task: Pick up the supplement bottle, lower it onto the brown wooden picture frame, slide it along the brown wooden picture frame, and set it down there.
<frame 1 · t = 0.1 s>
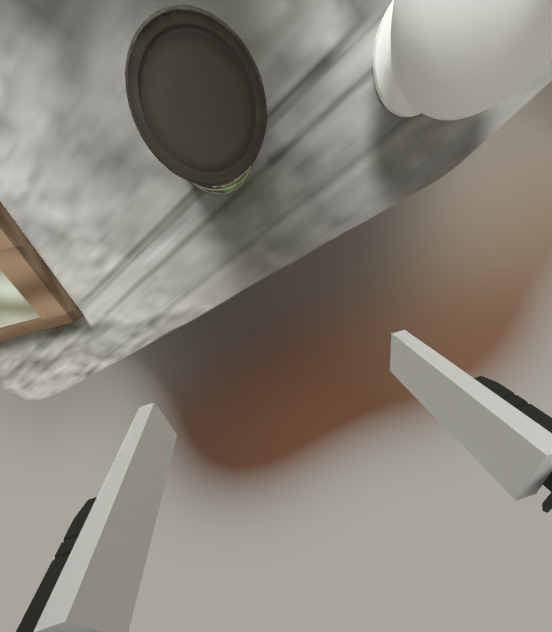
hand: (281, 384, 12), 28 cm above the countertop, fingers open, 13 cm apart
coffee can: (214, 151, 29), on the countertop
decorative vase: (415, 56, 28), on the countertop
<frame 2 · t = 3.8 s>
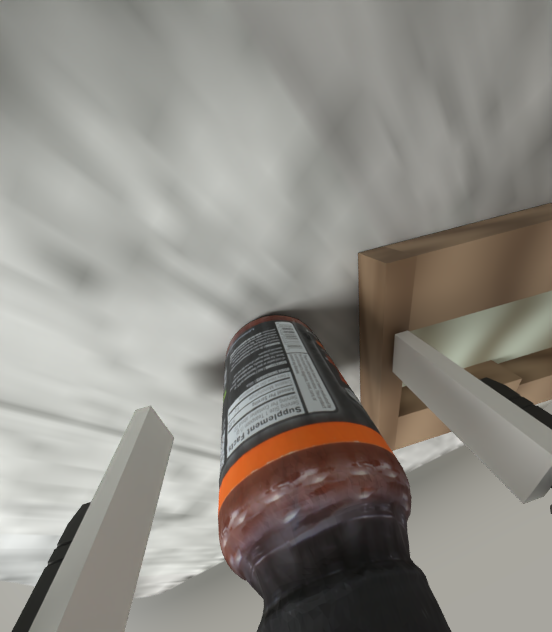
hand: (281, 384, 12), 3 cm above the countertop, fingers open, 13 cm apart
supplement bottle: (271, 350, 14), on the countertop
brown wooden picture frame: (506, 318, 16), on the countertop
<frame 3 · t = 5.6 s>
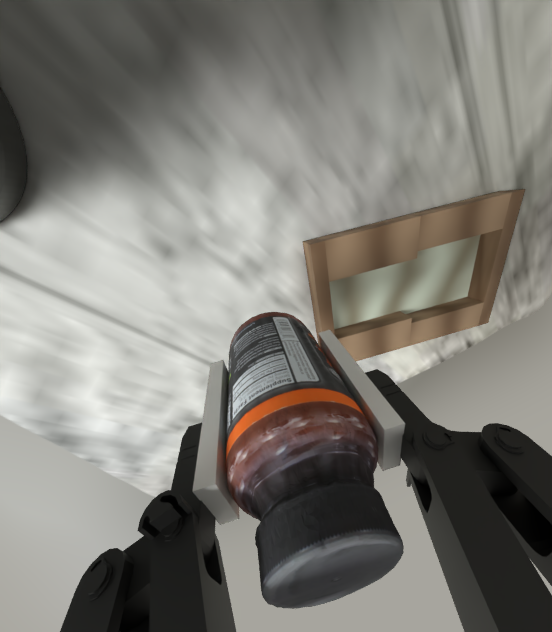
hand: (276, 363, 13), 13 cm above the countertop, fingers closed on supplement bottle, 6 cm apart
supplement bottle: (270, 344, 16), point 10 cm above the countertop, touching gripper
brown wooden picture frame: (403, 282, 27), on the countertop
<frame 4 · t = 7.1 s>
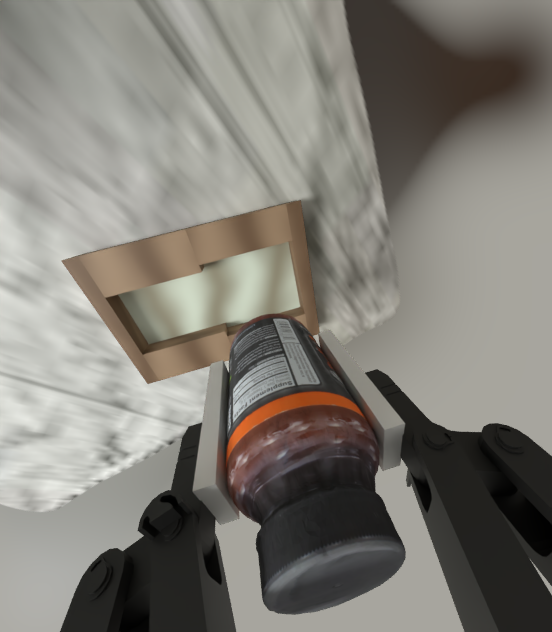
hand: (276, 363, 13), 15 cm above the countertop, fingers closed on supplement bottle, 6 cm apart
supplement bottle: (270, 345, 16), point 13 cm above the countertop, touching gripper
brown wooden picture frame: (219, 294, 26), on the countertop
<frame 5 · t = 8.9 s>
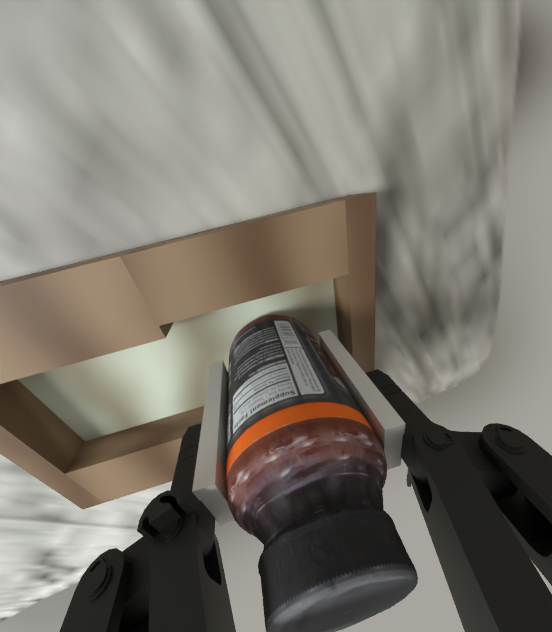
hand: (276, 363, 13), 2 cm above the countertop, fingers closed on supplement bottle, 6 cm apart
supplement bottle: (271, 347, 15), resting on brown wooden picture frame, touching gripper
brown wooden picture frame: (206, 360, 15), on the countertop
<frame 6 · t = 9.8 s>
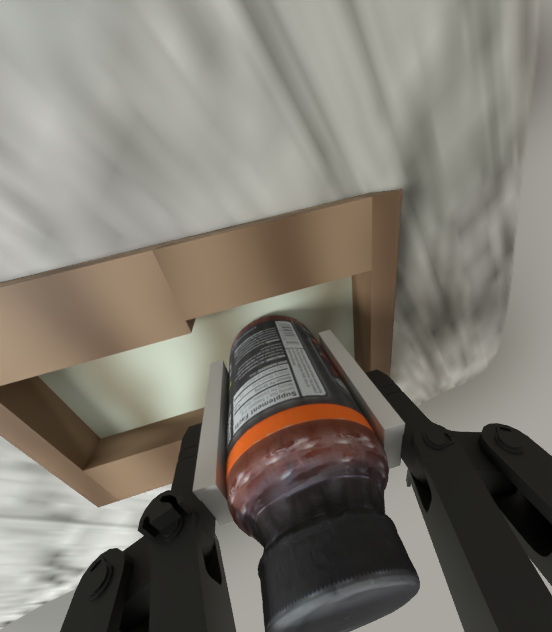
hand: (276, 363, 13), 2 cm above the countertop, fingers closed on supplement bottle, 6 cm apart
supplement bottle: (272, 347, 15), resting on brown wooden picture frame, touching gripper
brown wooden picture frame: (224, 356, 15), on the countertop
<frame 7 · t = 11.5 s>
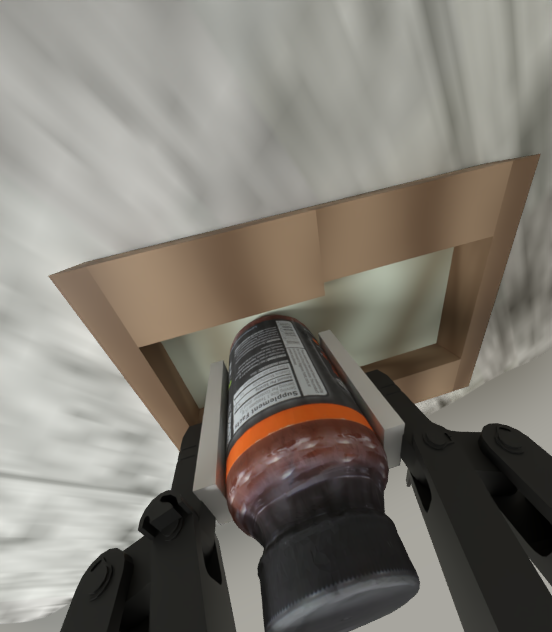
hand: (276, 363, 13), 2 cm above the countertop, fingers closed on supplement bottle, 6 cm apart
supplement bottle: (271, 347, 15), resting on brown wooden picture frame, touching gripper
brown wooden picture frame: (323, 328, 16), on the countertop
when the fingers open (2 cm above the countertop, at t = 12.3 s): supplement bottle stays where it is, resting on brown wooden picture frame.
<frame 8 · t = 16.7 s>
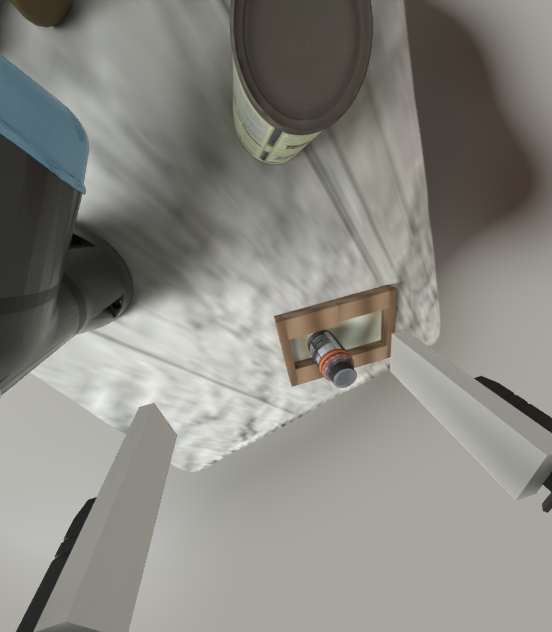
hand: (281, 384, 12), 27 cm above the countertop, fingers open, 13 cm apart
coffee can: (272, 116, 28), on the countertop
supplement bottle: (319, 340, 44), resting on brown wooden picture frame
brown wooden picture frame: (337, 334, 45), on the countertop
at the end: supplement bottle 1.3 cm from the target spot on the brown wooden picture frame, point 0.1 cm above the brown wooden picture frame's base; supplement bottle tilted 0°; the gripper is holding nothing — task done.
